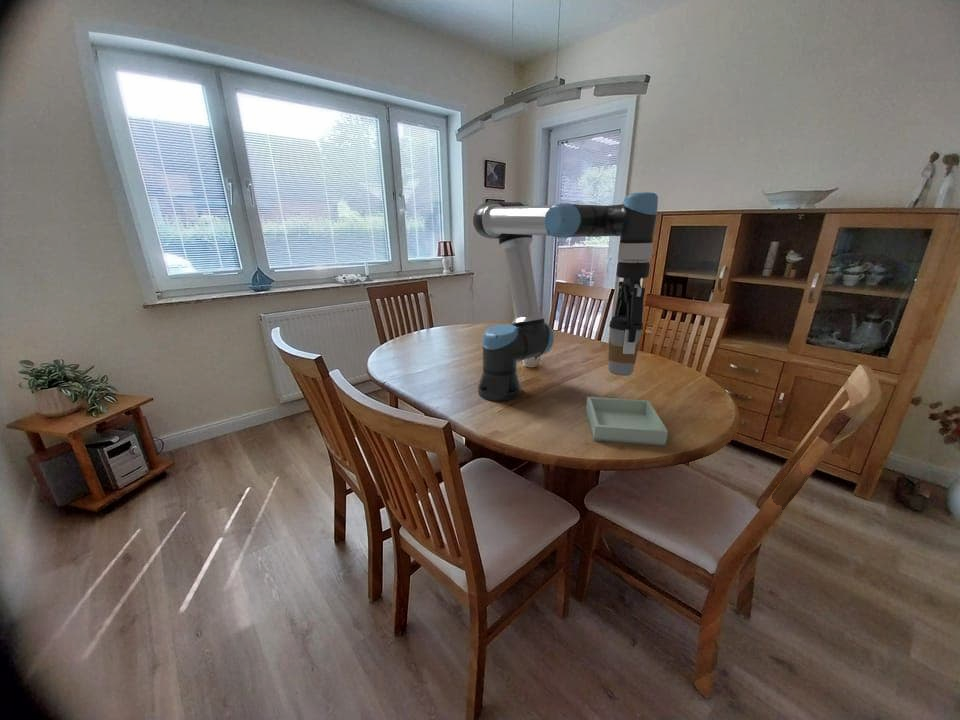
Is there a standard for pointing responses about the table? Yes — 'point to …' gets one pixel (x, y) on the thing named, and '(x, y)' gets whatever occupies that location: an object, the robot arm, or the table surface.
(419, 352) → the table surface
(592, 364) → the table surface
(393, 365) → the table surface
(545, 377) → the table surface
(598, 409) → the tray
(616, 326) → the coffee cup
